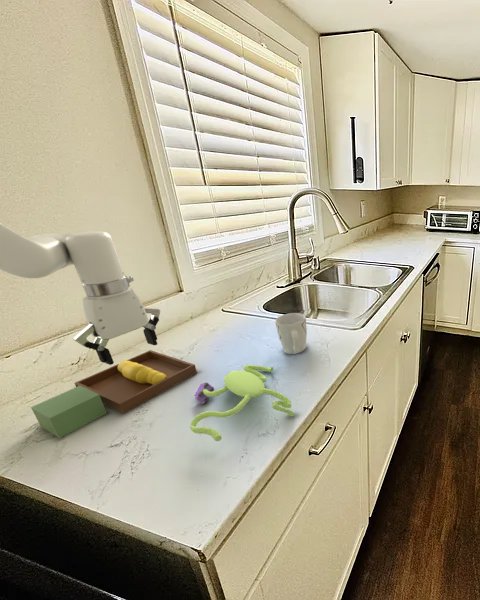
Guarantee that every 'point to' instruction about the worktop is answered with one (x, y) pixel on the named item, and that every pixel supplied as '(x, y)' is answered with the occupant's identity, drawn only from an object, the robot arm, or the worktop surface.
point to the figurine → (241, 385)
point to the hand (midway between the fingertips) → (131, 353)
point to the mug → (292, 332)
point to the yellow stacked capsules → (140, 373)
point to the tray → (131, 393)
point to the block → (69, 411)
